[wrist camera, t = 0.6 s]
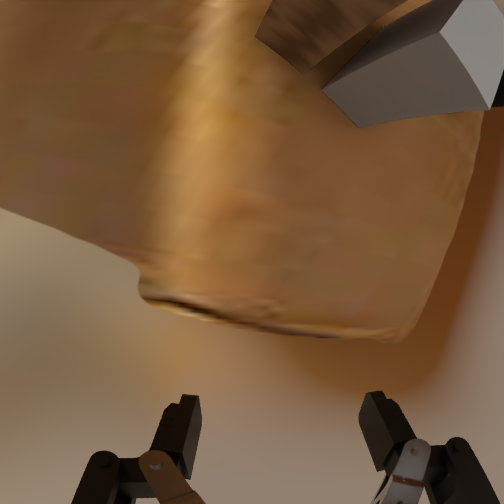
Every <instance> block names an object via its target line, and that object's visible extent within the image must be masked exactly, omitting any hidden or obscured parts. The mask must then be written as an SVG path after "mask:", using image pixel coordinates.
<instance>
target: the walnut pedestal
mask: <svg viewBox="0 0 504 504" xmlns="http://www.w3.org/2000/svg"><path fill="white" fill-rule="evenodd" d="M405 1H407V0H273V1H272V3H271V5H270V7H269V9H268V11H267V13H266V15H265V17H264V19H263V21H262V23H261V25H260V27H259V29H258V31H257V33H256V36H255V37H256V38H258V39H259V40H261V41H262V42H263V43H265V44H266V45H267V46H269V47H270V48H271V49H273V50H274V51H275V52H277V53H278V54H279V55H281V56H282V57H283V58H284V59H286V60H287V61H288V62H289V63H290V64H292V65H293V66H294V67H295V68H297V69H298V70H299V71H300V72H301V73H302V74H305V73H306V72H308V71H309V70H310V69H311V68H312V67H314V66H315V65H316V64H317V63H319V62H320V61H321V60H322V59H324V58H325V57H326V56H327V55H329V54H330V53H331V52H333V51H334V50H335V49H336V48H338V47H339V46H340V45H342V44H343V43H344V42H346V41H347V40H349V39H350V38H351V37H353V36H354V35H355V34H357V33H358V32H360V31H361V30H362V29H364V28H365V27H367V26H368V25H370V24H371V23H373V22H374V21H376V20H377V19H379V18H380V17H382V16H383V15H385V14H386V13H388V12H389V11H391V10H392V9H394V8H396V7H397V6H399V5H400V4H402V3H404V2H405Z"/></svg>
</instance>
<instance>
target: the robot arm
mask: <svg viewBox="0 0 504 504" xmlns="http://www.w3.org/2000/svg"><path fill="white" fill-rule="evenodd" d="M359 424H360V427H361V430H362V433H363V435H364V438H365V440H366V443H367V446H368V448H369V451H370V454H371V456H372V459H373V462H374V465H375V468H376V470H377V472H378V471H382V470H385V471H386V475H385V477H384V478H383V481H382V483H381V485H380V487H379V489H378V491H377V493H376V494H375V496H374V498H373V500H372V502H371V504H418V502H419V499H420V497H421V494H422V491H423V488H424V487H425V490H426V492H427V495H428V498H429V501H430V504H500V502H499V500H498V498H497V496H496V494H495V492H494V490H493V488H492V486H491V484H490V482H489V480H488V478H487V476H486V474H485V472H484V470H483V468H482V467H481V465H480V463H479V461H478V459H477V458H476V456H475V454H474V452H473V450H472V449H471V447H470V445H469V443H468V442H467V441H466V440H465V439H463V438H460V437H454V438H451V439H449V441H448V442H447V443H446V444H445V445H435V446H430V445H429V444H428V443H427V442H426V441H424V440H422V439H417V437H416V436H415V434H414V432H413V430H412V428H411V426H410V425H409V423H408V421H407V419H406V418H405V416H404V414H403V413H402V410H401V409H400V407H399V405H398V404H397V403H396V402H395V401H393V400H392V399H387V398H386V396H385V395H384V393H383V392H382V391H375V392H368V393H366V395H365V398H364V401H363V404H362V407H361V409H360V412H359ZM201 426H202V416H201V408H200V402H199V396H197V395H187V394H183V395H182V397H181V400H180V403H179V404H175V403H171V404H170V405H169V406H168V407H167V408H166V409H165V410H164V412H163V415H162V419H161V420H160V423H159V426H158V428H157V431H156V434H155V437H154V440H153V443H152V445H151V447H150V450H149V451H148V452H145V453H144V454H142V455H141V456H140V457H138V458H118V457H117V456H116V455H115V454H114V453H112V452H109V451H98V452H96V453H94V454H93V455H92V456H91V458H90V460H89V462H88V464H87V467H86V469H85V471H84V474H83V476H82V478H81V481H80V483H79V486H78V488H77V490H76V493H75V495H74V498H73V501H72V503H71V504H135V502H136V498H157V499H158V501H159V503H160V504H205V502H204V501H203V500H202V498H201V497H200V496H199V495H198V493H197V492H195V491H193V490H192V488H191V487H190V486H189V484H188V483H187V482H186V480H185V479H189V480H190V479H191V474H192V470H193V464H194V460H195V455H196V450H197V446H198V440H199V436H200V431H201Z"/></svg>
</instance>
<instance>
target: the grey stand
mask: <svg viewBox="0 0 504 504" xmlns="http://www.w3.org/2000/svg"><path fill="white" fill-rule="evenodd" d="M503 70H504V17H503V15H502V14H501V12H500V10H499V9H498V8H497V6H496V5H495V3H494V2H493V1H492V0H432V1H430V2H428V3H426V4H424V5H422V6H421V7H419V8H417V9H415V10H413V11H411V12H409V13H408V14H406V15H404V16H402V17H400V18H399V19H397V20H395V21H393V22H392V23H390V24H388V25H387V26H385V27H383V28H382V29H381V30H380V31H379V32H378V33H377V34H376V35H375V36H374V37H373V38H372V39H371V40H370V41H369V42H368V43H367V44H365V45H364V46H363V47H362V48H361V49H360V50H359V51H358V52H357V53H356V54H355V56H354V57H353V58H352V59H351V60H350V61H349V62H348V63H347V64H346V65H345V66H344V67H343V68H342V69H341V70H340V71H339V72H338V73H337V74H336V75H335V76H334V77H333V78H332V79H331V80H330V81H329V83H328V84H327V85H326V86H325V87H324V88H323V89H322V90H321V91H323V92H324V93H325V94H326V95H327V96H328V97H329V98H330V99H331V100H332V101H333V102H334V103H335V104H336V105H337V106H338V107H339V108H340V109H341V110H342V111H343V112H344V113H345V114H346V115H347V116H348V117H349V118H350V119H351V120H352V121H353V122H354V123H355V124H356V125H357V127H358V128H359V127H364V126H369V125H374V124H379V123H385V122H390V121H396V120H402V119H408V118H415V117H422V116H429V115H437V114H445V113H455V112H465V111H478V110H490V108H491V105H492V103H493V100H494V97H495V94H496V91H497V88H498V85H499V82H500V79H501V76H502V73H503Z"/></svg>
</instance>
